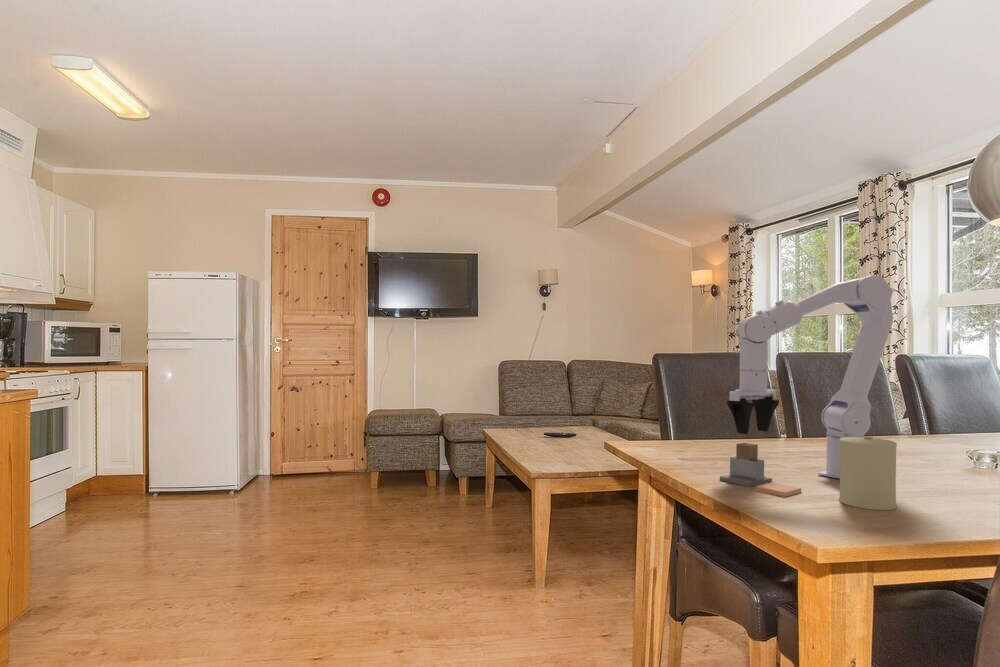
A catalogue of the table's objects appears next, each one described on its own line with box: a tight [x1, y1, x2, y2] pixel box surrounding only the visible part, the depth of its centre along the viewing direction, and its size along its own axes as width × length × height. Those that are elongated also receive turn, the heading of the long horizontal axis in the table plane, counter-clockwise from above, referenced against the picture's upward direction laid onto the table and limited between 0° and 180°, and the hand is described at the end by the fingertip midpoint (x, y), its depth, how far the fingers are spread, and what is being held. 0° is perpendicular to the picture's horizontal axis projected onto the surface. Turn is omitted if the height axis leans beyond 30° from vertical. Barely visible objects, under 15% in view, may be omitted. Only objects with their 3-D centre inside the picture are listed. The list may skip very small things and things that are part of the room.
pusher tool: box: [729, 442, 765, 481], centre depth 132 cm, size 3×6×7 cm, turn 35°
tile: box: [755, 481, 802, 498], centre depth 124 cm, size 1×6×6 cm
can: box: [838, 436, 898, 511], centre depth 116 cm, size 9×9×12 cm
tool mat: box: [719, 474, 773, 488], centre depth 132 cm, size 8×7×1 cm
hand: (752, 432), depth 139 cm, fingers open, 7 cm apart
